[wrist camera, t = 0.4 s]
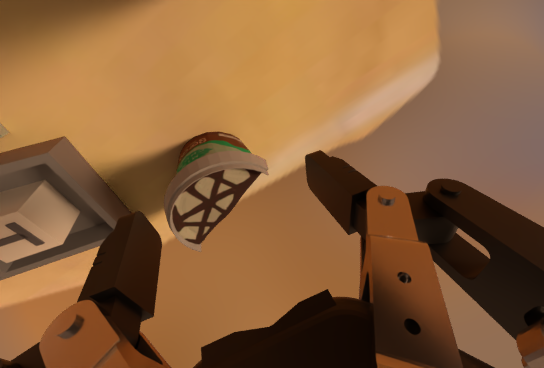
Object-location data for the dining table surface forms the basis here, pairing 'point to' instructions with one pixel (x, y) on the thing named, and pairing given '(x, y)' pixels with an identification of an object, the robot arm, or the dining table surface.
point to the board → (3, 131)
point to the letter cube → (33, 220)
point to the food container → (208, 184)
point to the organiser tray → (73, 186)
